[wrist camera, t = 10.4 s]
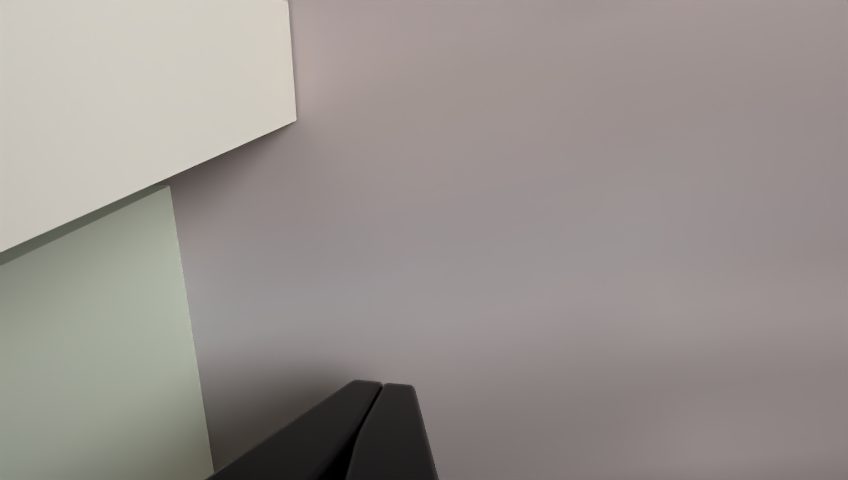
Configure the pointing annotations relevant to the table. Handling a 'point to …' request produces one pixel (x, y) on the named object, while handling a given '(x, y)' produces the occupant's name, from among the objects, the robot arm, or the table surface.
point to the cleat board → (129, 97)
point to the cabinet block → (101, 351)
